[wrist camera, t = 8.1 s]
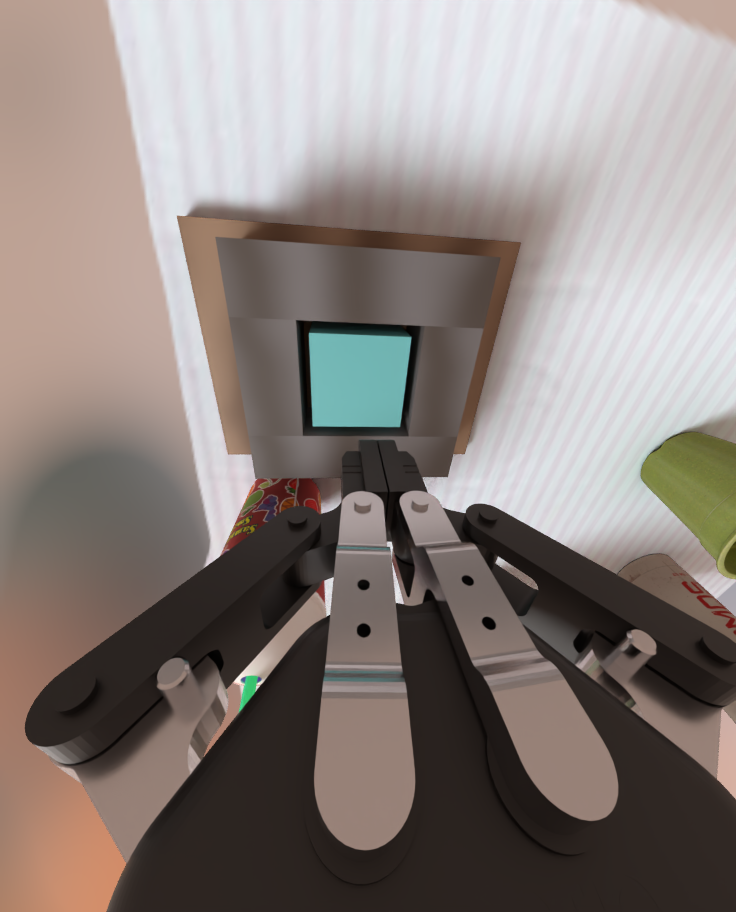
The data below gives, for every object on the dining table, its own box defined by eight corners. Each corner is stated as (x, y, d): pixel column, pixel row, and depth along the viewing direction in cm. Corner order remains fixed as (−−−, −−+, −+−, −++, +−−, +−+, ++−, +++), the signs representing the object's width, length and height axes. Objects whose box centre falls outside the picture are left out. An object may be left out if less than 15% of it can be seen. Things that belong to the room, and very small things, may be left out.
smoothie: (251, 446, 29) (142, 706, 12) (338, 465, 31) (344, 710, 15) (240, 511, 33) (146, 773, 17) (317, 524, 35) (303, 769, 19)
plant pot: (629, 514, 39) (722, 596, 30) (607, 454, 34) (714, 532, 24) (733, 463, 36) (873, 537, 27) (728, 387, 31) (904, 447, 21)
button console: (512, 243, 22) (566, 240, 17) (460, 447, 31) (485, 486, 26) (184, 217, 20) (132, 204, 15) (231, 447, 29) (209, 489, 24)
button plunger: (399, 324, 23) (411, 337, 19) (391, 404, 26) (399, 427, 23) (312, 320, 22) (309, 332, 19) (315, 403, 25) (312, 426, 22)
